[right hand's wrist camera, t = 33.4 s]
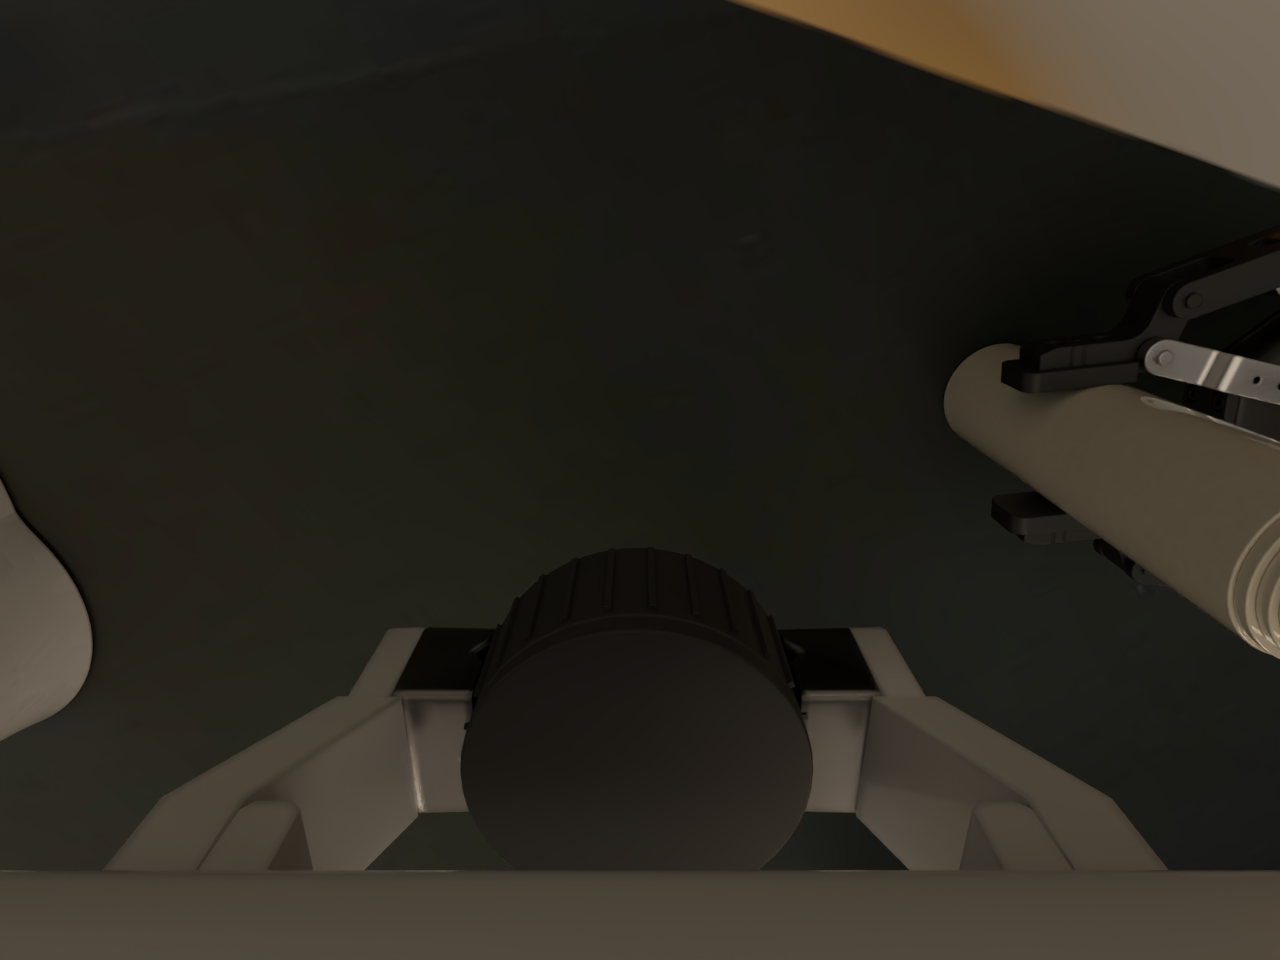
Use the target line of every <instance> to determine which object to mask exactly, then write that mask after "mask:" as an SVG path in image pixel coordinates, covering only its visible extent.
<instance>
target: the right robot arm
mask: <svg viewBox="0 0 1280 960" xmlns="http://www.w3.org/2000/svg"><path fill="white" fill-rule="evenodd" d="M495 630H496V629H485V628H435V627H429V628H426V627H394V628H391V629H389V630H388V631H387V632H386V633H385V635H384V637H383V638H382V640H381V642H380V643H379V645H378V647H377V648H376V650H375V652H374V653H373V655H372V657H371V658H370V660H369V662H368V663H367V665H366V667H365V668H364V670H363V672H362V673H361V675H360V677H359V678H358V680H357V682H356V683H355V685H354V687H353V688H352V690H351V692H350V693H349V695H348V696H345V697H335V698H333V699H332V700H330V701H328V702H327V703H325V704H323V705H321V706H320V707H318V708H316V709H314V710H313V711H311V712H309V713H307V714H306V715H304V716H302V717H300V718H299V719H297V720H295V721H293V722H292V723H290V724H288V725H287V726H285V727H283V728H281V729H280V730H278V731H276V732H274V733H273V734H271V735H269V736H267V737H266V738H264V739H262V740H260V741H259V742H257V743H255V744H253V745H252V746H250V747H248V748H247V749H245V750H243V751H241V752H240V753H238V754H236V755H234V756H233V757H231V758H229V759H227V760H226V761H224V762H222V763H220V764H219V765H217V766H215V767H213V768H212V769H210V770H208V771H206V772H205V773H203V774H201V775H200V776H198V777H196V778H194V779H193V780H191V781H189V782H187V783H186V784H184V785H182V786H180V787H179V788H177V789H175V790H173V791H172V792H170V793H168V794H166V795H165V796H163V797H161V799H160V800H159V801H158V802H157V804H156V805H155V806H154V807H153V809H152V810H151V811H150V812H149V813H148V815H147V816H146V817H145V818H144V820H143V821H142V822H141V823H140V825H139V826H138V827H137V828H136V829H135V831H134V832H133V833H132V834H131V836H130V837H129V838H128V839H127V841H126V842H125V843H124V844H123V845H122V847H121V848H120V849H119V850H118V852H117V853H116V854H115V855H114V857H113V858H112V859H111V860H110V861H109V863H108V864H107V865H106V866H105V868H104V869H103V870H0V960H1280V870H1168V869H1167V868H1166V866H1165V865H1164V864H1163V863H1162V861H1161V860H1160V859H1159V857H1158V856H1157V855H1156V854H1155V852H1154V851H1153V850H1152V849H1151V847H1150V846H1149V845H1148V844H1147V842H1146V841H1145V840H1144V839H1143V837H1142V836H1141V835H1140V834H1139V832H1138V831H1137V830H1136V828H1135V827H1134V826H1133V825H1132V823H1131V822H1130V821H1129V820H1128V818H1127V817H1126V816H1125V815H1124V813H1123V812H1122V811H1121V810H1120V808H1119V807H1118V806H1117V805H1116V803H1115V802H1114V801H1113V799H1112V798H1110V797H1108V796H1107V795H1105V794H1103V793H1101V792H1100V791H1098V790H1096V789H1095V788H1093V787H1091V786H1089V785H1088V784H1086V783H1084V782H1083V781H1081V780H1079V779H1077V778H1076V777H1074V776H1072V775H1071V774H1069V773H1067V772H1065V771H1064V770H1062V769H1060V768H1059V767H1057V766H1055V765H1053V764H1052V763H1050V762H1048V761H1046V760H1045V759H1043V758H1041V757H1040V756H1038V755H1036V754H1034V753H1033V752H1031V751H1029V750H1028V749H1026V748H1024V747H1022V746H1021V745H1019V744H1017V743H1016V742H1014V741H1012V740H1010V739H1009V738H1007V737H1005V736H1004V735H1002V734H1000V733H998V732H997V731H995V730H993V729H992V728H990V727H988V726H986V725H985V724H983V723H981V722H979V721H978V720H976V719H974V718H973V717H971V716H969V715H967V714H966V713H964V712H962V711H961V710H959V709H957V708H955V707H954V706H952V705H950V704H949V703H947V702H945V701H943V700H942V699H940V698H938V697H928V696H925V694H924V693H923V691H922V689H921V688H920V686H919V684H918V682H917V681H916V679H915V677H914V676H913V674H912V672H911V671H910V669H909V667H908V666H907V664H906V662H905V661H904V659H903V657H902V656H901V654H900V652H899V651H898V649H897V647H896V645H895V644H894V642H893V640H892V639H891V637H890V635H889V634H888V632H887V630H886V629H884V628H882V627H858V628H832V629H793V630H778V634H779V637H780V640H781V643H782V646H783V649H784V652H785V655H786V658H787V661H788V662H790V663H791V668H790V671H791V674H792V677H793V680H794V683H795V687H793V688H794V691H795V694H796V697H797V700H798V704H799V707H800V710H801V713H802V714H803V713H807V715H808V719H807V720H804V722H805V726H806V729H807V732H808V736H809V740H810V744H811V748H812V756H813V779H812V788H811V792H810V796H809V800H808V803H807V807H806V809H805V811H812V812H848V813H856V816H857V817H858V818H859V819H860V820H861V821H862V822H863V823H864V824H865V825H866V826H867V827H868V829H869V830H870V831H871V832H872V833H873V834H874V835H875V836H876V837H877V838H878V839H879V840H880V841H881V842H882V843H883V844H884V845H885V846H886V847H887V848H888V849H889V850H890V851H891V852H892V853H893V854H894V855H895V856H896V857H897V858H898V859H899V860H900V861H901V862H902V863H903V864H904V865H905V866H906V867H907V868H908V869H909V870H365V869H366V868H367V867H368V866H369V865H370V864H371V863H372V862H373V861H374V860H375V859H376V858H377V857H378V856H379V855H380V854H381V853H382V852H383V851H384V850H385V849H386V848H387V847H388V846H389V845H390V844H391V843H392V842H393V841H394V840H395V839H396V838H397V837H398V836H399V835H400V834H401V833H402V832H403V831H404V830H405V829H406V828H407V827H408V826H409V825H410V824H411V823H412V822H413V821H414V820H415V819H416V818H417V817H418V814H417V813H426V812H461V811H469V810H468V807H467V804H466V801H465V797H464V794H463V790H462V783H461V775H460V764H461V751H462V746H463V742H464V737H465V733H466V730H464V724H465V723H467V724H469V721H470V719H471V715H472V712H473V709H474V706H475V703H476V700H477V697H474V696H473V695H474V692H475V689H476V686H477V683H478V680H479V677H480V674H481V671H482V668H483V665H484V662H485V659H486V656H487V653H488V650H489V647H490V644H491V642H492V639H493V636H494V633H495ZM92 646H93V642H92V631H91V625H90V621H89V617H88V613H87V610H86V607H85V605H84V602H83V600H82V597H81V595H80V593H79V591H78V589H77V587H76V585H75V584H74V582H73V580H72V579H71V577H70V576H69V574H68V573H67V571H66V570H65V568H64V567H63V566H62V564H61V563H60V562H59V560H58V559H57V558H56V557H55V555H54V554H53V553H52V552H51V551H50V550H49V549H48V548H47V547H46V546H45V545H44V544H43V542H42V541H41V540H40V539H39V538H38V537H37V536H36V535H35V534H34V533H33V532H32V531H31V530H30V529H29V528H28V527H27V526H26V524H25V523H24V522H23V521H22V520H21V518H20V517H19V516H18V514H17V513H16V511H15V509H14V506H13V504H12V502H11V500H10V498H9V495H8V493H7V491H6V489H5V487H4V485H3V483H2V481H1V479H0V741H1V740H3V739H5V738H7V737H9V736H11V735H12V734H14V733H16V732H18V731H20V730H22V729H24V728H26V727H29V726H31V725H33V724H35V723H38V722H40V721H42V720H44V719H46V718H48V717H50V716H52V715H54V714H55V713H57V712H58V711H60V710H61V709H62V708H64V707H65V706H66V705H67V704H68V703H69V702H70V701H71V700H72V699H73V698H74V697H75V696H76V694H77V693H78V692H79V690H80V689H81V687H82V685H83V683H84V681H85V679H86V677H87V675H88V671H89V668H90V664H91V659H92Z"/></svg>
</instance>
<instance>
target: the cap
mask: <svg viewBox="0 0 1280 960" xmlns="http://www.w3.org/2000/svg"><path fill="white" fill-rule="evenodd" d="M790 668H791V663H790V662H788V661H787V658H786V655H785V652H784V649H783V646H782V643H781V640H780V637H779V634H778V630H777V627H776V624H775V621H774V619H773V617H772V616H769V617H768V616H767V615H766V613H765V612H764V610H763V608H762V607H761V606H760V604H759V603H758V602H757V601H756V599H755V595H754V593H753V592H752V591H751V590H750V589H749V590H748V591H747V590H746V589H745V588H744V587H743V586H741V585H740V584H739V583H738V582H737V581H736V580H734V579H733V578H731V577H730V576H728V575H727V574H726V571H725V570H723V569H722V568H720V570H719V569H717V568H715V567H713V566H711V565H709V564H707V563H705V562H703V561H700V560H697V559H695V558H692V555H689V554H685V555H683V554H679V553H674V552H670V551H665V550H656V549H654V548H653V547H648V548H630V549H618V550H615V548H612V549H609V550H608V551H604V552H600V553H596V554H592V555H588V556H585V557H582V558H580V559H578V558H577V557H576V558H574V559H572V560H571V562H569V563H567V564H565V565H563V566H561V567H559V568H558V569H556V570H554V571H552V572H550V573H549V574H547V575H546V576H545V575H544V574H543V575H541V576H540V577H539V579H538V582H536V583H535V584H534V585H533V586H532V587H531V588H530V589H529V590H528V591H526V592H525V593H524V594H523V595H522V596H521V598H518V597H516V598H515V599H514V601H513V604H512V607H511V610H510V612H509V614H508V615H507V617H506V619H505V621H504V622H503V624H502V625H499V624H498V625H497V627H496V630H495V633H494V636H493V639H492V642H491V644H490V647H489V650H488V653H487V656H486V659H485V662H484V665H483V668H482V671H481V674H480V677H479V680H478V683H477V686H476V689H475V692H474V695H473V696H474V697H477V700H476V703H475V706H474V709H473V712H472V715H471V719H470V721H469V724H467V723H465V724H464V730H466V733H465V737H464V742H463V746H462V751H461V764H460V775H461V783H462V790H463V794H464V797H465V801H466V804H467V807H468V810H469V812H470V815H471V817H472V819H473V821H474V823H475V825H476V827H477V828H478V830H479V831H480V833H481V834H482V836H483V837H484V839H485V840H486V842H487V843H488V844H489V845H490V846H491V847H492V848H493V850H494V851H495V852H496V853H497V854H498V855H499V856H500V857H501V858H502V859H503V860H504V861H506V862H507V863H508V864H509V865H510V866H511V867H513V868H514V869H515V870H758V869H760V868H761V867H763V866H764V865H765V864H766V863H767V862H768V861H769V860H770V859H771V858H773V857H774V856H775V855H776V854H777V853H778V852H779V851H780V849H781V848H782V847H783V846H784V845H785V843H786V842H787V841H788V840H789V839H790V837H791V836H792V834H793V832H794V831H795V829H796V828H797V826H798V824H799V823H800V820H801V818H802V816H803V814H804V811H805V809H806V807H807V803H808V800H809V796H810V792H811V788H812V779H813V756H812V748H811V744H810V740H809V736H808V732H807V729H806V726H805V722H804V720H807V719H808V715H807V713H803V714H802V713H801V710H800V707H799V704H798V700H797V697H796V694H795V691H794V688H793V687H795V683H794V680H793V677H792V674H791V671H790Z"/></svg>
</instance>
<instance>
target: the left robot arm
mask: <svg viewBox="0 0 1280 960" xmlns="http://www.w3.org/2000/svg"><path fill="white" fill-rule="evenodd" d="M1260 294H1268V295H1275V296H1280V225H1277V226H1274V227H1272V228H1269V229H1266V230H1263V231H1261V232H1258V233H1255V234H1253V235H1250V236H1247V237H1244V238H1242V239H1239V240H1236V241H1234V242H1231V243H1228V244H1225V245H1223V246H1220V247H1217V248H1215V249H1212V250H1209V251H1207V252H1204V253H1201V254H1198V255H1196V256H1193V257H1190V258H1188V259H1185V260H1182V261H1179V262H1177V263H1174V264H1171V265H1169V266H1166V267H1163V268H1160V269H1158V270H1155V271H1152V272H1150V273H1147V274H1144V275H1141V276H1139V277H1137V278H1136V279H1134V280H1133V281H1132V282H1131V283H1130V285H1129V286H1128V288H1127V290H1126V295H1125V296H1126V302H1127V304H1128V305H1129V307H1128V309H1127V311H1126V313H1125V315H1124V317H1123V319H1122V320H1121V322H1120V323H1119V324H1118V325H1117V326H1116V327H1115V328H1113V329H1112V330H1110V331H1108V332H1105V333H1099V334H1090V335H1081V336H1073V337H1064V338H1055V339H1046V340H1037V341H1033V342H1031V343H1029V344H1027V345H1025V346H1023V347H1021V348H1020V354H1019V359H1014V360H1007V361H1003V362H1002V369H1001V382H1002V383H1003V384H1006V385H1008V386H1010V387H1012V388H1014V389H1016V390H1018V391H1020V392H1024V393H1044V392H1053V391H1062V390H1071V389H1080V388H1089V387H1098V386H1105V385H1116V384H1125V383H1134V382H1137V377H1138V373H1150V374H1153V375H1157V376H1161V377H1166V378H1170V379H1174V380H1178V381H1183V382H1186V385H1185V391H1184V397H1183V405H1184V406H1186V407H1189V408H1192V409H1194V410H1197V411H1200V412H1203V413H1205V414H1208V415H1211V416H1213V417H1216V418H1219V419H1222V420H1224V421H1227V422H1230V423H1232V424H1235V425H1238V426H1241V427H1243V428H1246V429H1249V430H1251V431H1254V432H1257V433H1260V434H1262V435H1265V436H1268V437H1271V438H1273V439H1276V440H1279V441H1280V309H1279V310H1277V311H1276V312H1275V313H1273V314H1272V315H1271V316H1269V317H1268V318H1266V319H1265V320H1264V321H1262V322H1261V323H1260V324H1258V325H1257V326H1255V327H1254V328H1253V329H1251V330H1250V331H1248V332H1247V333H1246V334H1244V335H1243V336H1242V337H1240V338H1239V339H1237V340H1236V341H1235V342H1233V343H1232V344H1231V345H1229V346H1228V347H1226V348H1225V349H1224V350H1222V351H1220V350H1216V349H1212V348H1207V347H1203V346H1199V345H1195V344H1191V343H1186V342H1182V341H1178V340H1179V338H1180V336H1181V335H1182V333H1183V331H1184V329H1185V327H1186V325H1187V323H1188V321H1189V319H1193V318H1196V317H1199V316H1202V315H1204V314H1207V313H1210V312H1213V311H1215V310H1218V309H1221V308H1224V307H1227V306H1229V305H1232V304H1235V303H1238V302H1241V301H1243V300H1246V299H1249V298H1252V297H1255V296H1257V295H1260ZM991 516H992V517H993V518H994V519H995V520H996V521H997V522H998V523H999V524H1001V525H1002V526H1003V527H1004V528H1005V529H1006V530H1007V531H1009V532H1011V533H1013V534H1015V535H1017V536H1018V537H1019V538H1020V539H1021V540H1022V541H1023V542H1026V543H1030V544H1034V545H1045V544H1052V543H1054V544H1055V543H1063V542H1074V541H1083V540H1093V539H1094V549H1095V550H1096V552H1098V553H1099V554H1100V555H1102V556H1103V557H1104V558H1106V559H1109V560H1110V561H1112V562H1113V563H1114V564H1116V565H1117V566H1118V567H1120V568H1121V569H1122V570H1124V571H1125V572H1126V574H1127V575H1128V576H1130V577H1131V578H1132V579H1134V580H1135V581H1136V582H1138V583H1141V584H1148V585H1156V586H1164V587H1168V586H1167V585H1166V584H1164V583H1163V582H1161V581H1160V580H1159V579H1157V578H1156V577H1154V576H1153V575H1152V574H1150V573H1149V572H1147V571H1146V570H1145V569H1143V568H1142V567H1140V566H1139V565H1138V564H1136V563H1135V562H1133V561H1132V560H1131V559H1129V558H1128V557H1126V556H1125V555H1124V554H1122V553H1121V552H1120V551H1118V550H1117V549H1115V548H1114V547H1113V546H1111V545H1110V544H1108V543H1107V542H1106V541H1104V540H1103V539H1101V538H1100V537H1099V536H1097V535H1096V534H1094V533H1093V532H1092V531H1090V530H1089V529H1087V528H1086V527H1085V526H1083V525H1082V524H1080V523H1079V522H1078V521H1076V520H1075V519H1074V518H1072V517H1071V516H1069V515H1068V514H1067V513H1065V512H1064V511H1062V510H1061V509H1060V508H1058V507H1057V506H1055V505H1054V504H1053V503H1051V502H1050V501H1048V500H1047V499H1046V498H1044V497H1043V496H1041V495H1040V494H1039V493H1037V492H1036V491H1033V492H1024V493H1014V494H1005V495H998V496H995V497H993V498H992V510H991Z"/></svg>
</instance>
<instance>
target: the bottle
mask: <svg viewBox="0 0 1280 960" xmlns="http://www.w3.org/2000/svg"><path fill="white" fill-rule="evenodd" d="M1021 347H1023V346H1020V345H1016V344H996V345H992V346H988V347H985V348H983V349H981V350H979V351H977V352H975V353H973V354H972V355H971V356H969V357H968V358H967V359H965V360H964V361H963V362H962V363H961V364H960V365H959V366H958V368H957V369H956V370H955V372H954V373H953V375H952V376H951V378H950V380H949V382H948V385H947V387H946V391H945V396H944V411H945V416H946V419H947V421H948V423H949V425H950V427H951V428H952V430H953V431H954V432H955V433H956V434H957V435H958V436H959V437H961V438H962V439H963V440H965V441H966V442H968V443H969V444H970V445H972V446H973V447H975V448H976V449H977V450H979V451H980V452H982V453H983V454H984V455H986V456H987V457H989V458H990V459H991V460H993V461H994V462H995V463H997V464H998V465H1000V466H1001V467H1002V468H1004V469H1005V470H1007V471H1008V472H1009V473H1011V474H1012V475H1014V476H1015V477H1016V478H1018V479H1019V480H1021V481H1022V482H1023V483H1025V484H1026V485H1028V486H1029V487H1030V488H1032V489H1033V490H1035V491H1036V492H1037V493H1039V494H1040V495H1041V496H1043V497H1044V498H1046V499H1047V500H1048V501H1050V502H1051V503H1053V504H1054V505H1055V506H1057V507H1058V508H1060V509H1061V510H1062V511H1064V512H1065V513H1067V514H1068V515H1069V516H1071V517H1072V518H1074V519H1075V520H1076V521H1078V522H1079V523H1080V524H1082V525H1083V526H1085V527H1086V528H1087V529H1089V530H1090V531H1092V532H1093V533H1094V534H1096V535H1097V536H1099V537H1100V538H1101V539H1103V540H1104V541H1106V542H1107V543H1108V544H1110V545H1111V546H1113V547H1114V548H1115V549H1117V550H1118V551H1120V552H1121V553H1122V554H1124V555H1125V556H1126V557H1128V558H1129V559H1131V560H1132V561H1133V562H1135V563H1136V564H1138V565H1139V566H1140V567H1142V568H1143V569H1145V570H1146V571H1147V572H1149V573H1150V574H1152V575H1153V576H1154V577H1156V578H1157V579H1159V580H1160V581H1161V582H1163V583H1164V584H1166V585H1167V586H1168V587H1170V588H1171V589H1172V590H1174V591H1175V592H1177V593H1178V594H1179V595H1181V596H1182V597H1184V598H1185V599H1186V600H1188V601H1189V602H1191V603H1192V604H1193V605H1195V606H1196V607H1198V608H1199V609H1200V610H1202V611H1203V612H1205V613H1206V614H1207V615H1209V616H1210V617H1212V618H1213V619H1214V620H1216V621H1217V622H1218V623H1220V624H1221V625H1223V626H1224V627H1225V628H1227V629H1228V630H1230V631H1231V632H1232V633H1234V634H1235V635H1237V636H1238V637H1239V638H1241V639H1242V640H1244V641H1245V642H1246V643H1248V644H1249V645H1251V646H1252V647H1254V648H1256V649H1258V650H1259V651H1262V652H1264V653H1267V654H1270V655H1273V656H1274V657H1276V658H1279V659H1280V441H1279V440H1276V439H1273V438H1271V437H1268V436H1265V435H1262V434H1260V433H1257V432H1254V431H1251V430H1249V429H1246V428H1243V427H1241V426H1238V425H1235V424H1232V423H1230V422H1227V421H1224V420H1222V419H1219V418H1216V417H1213V416H1211V415H1208V414H1205V413H1203V412H1200V411H1197V410H1194V409H1192V408H1189V407H1186V406H1184V405H1181V404H1178V403H1175V402H1173V401H1170V400H1167V399H1165V398H1162V397H1159V396H1156V395H1154V394H1151V393H1148V392H1146V391H1143V390H1140V389H1137V388H1135V387H1132V386H1129V385H1127V384H1116V385H1105V386H1098V387H1089V388H1080V389H1071V390H1062V391H1053V392H1044V393H1024V392H1020V391H1018V390H1016V389H1014V388H1012V387H1010V386H1008V385H1006V384H1003V383H1002V382H1001V369H1002V362H1003V361H1007V360H1014V359H1019V354H1020V348H1021Z"/></svg>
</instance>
